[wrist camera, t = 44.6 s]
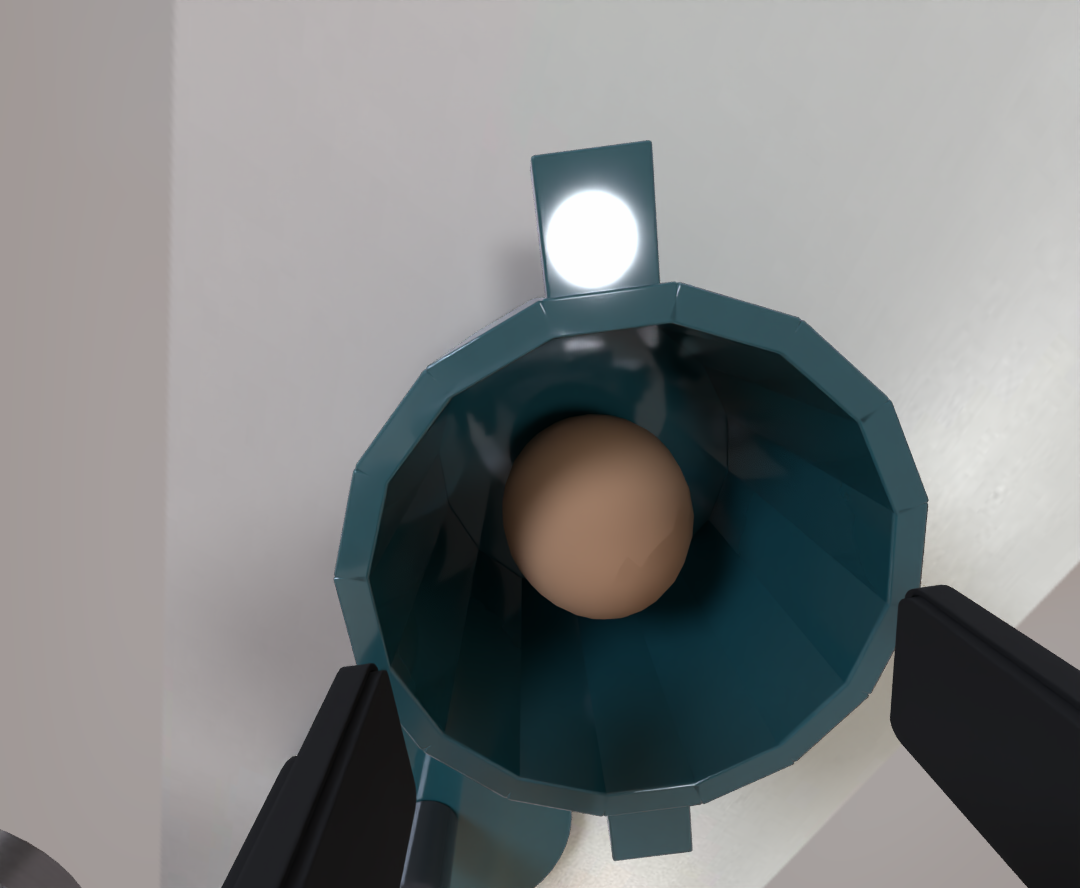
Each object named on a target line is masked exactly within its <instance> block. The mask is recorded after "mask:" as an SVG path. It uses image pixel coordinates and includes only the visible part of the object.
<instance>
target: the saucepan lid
mask: <svg viewBox="0 0 1080 888" xmlns="http://www.w3.org/2000/svg"><path fill="white" fill-rule="evenodd" d="M401 728H402V732H403V736H404V740H405V744H406V748H407V752H408V756H409V760H410V764H411V768H412V773H413V777H414V781H415V785H416V809H415V814H414V819H413V824H412V829H411V834H410V839H409V844H408V849H407V854H406V859H405V864H404V869H403V874H402V879H401V884H400V888H535V887H536V886H537V885H538V884H539V883H540V882H542V881H543V879H544V878H545V877H546V876H547V875H548V874H549V873H550V872H551V871H552V869H553V868H554V866H555V865H556V863H557V862H558V860H559V859H560V857H561V855H562V853H563V851H564V849H565V847H566V844H567V840H568V837H569V833H570V828H571V820H572V812H571V811H568V810H563V809H557V808H552V807H546V806H541V805H535V804H530V803H524V802H519V801H513V800H509V799H508V798H504V797H502V796H501V795H499V794H497V793H495V792H493V791H492V790H490V789H488V788H486V787H485V786H483V785H481V784H479V783H477V782H476V781H474V780H472V779H470V778H469V777H467V776H465V775H463V774H461V773H460V772H458V771H456V770H454V769H452V768H451V767H449V766H447V765H445V764H444V763H442V762H440V761H438V760H436V759H435V758H433V757H431V756H429V755H427V754H426V753H424V751H423V750H421V749H420V748H419V747H418V746H417V744H416V743H415V742H414V741H413V740H412V738H411V737H410V736H409V735H408V733H407V732H406V731H405V730H404V728H403V727H402V726H401Z"/></svg>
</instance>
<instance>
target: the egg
mask: <svg viewBox="0 0 1080 888" xmlns="http://www.w3.org/2000/svg"><path fill="white" fill-rule="evenodd" d="M693 520H694V513H693V507H692V501H691V496H690V490H689V487H688V485H687V483H686V480H685V478H684V476H683V473H682V471H681V469H680V467H679V465H678V464H677V462H676V461H675V459H674V457H673V456H672V454H671V453H670V451H669V449H668V448H667V447H666V446H665V445H664V444H663V443H662V442H661V441H660V440H659V439H658V438H657V437H656V436H654V435H653V434H652V433H650V432H649V431H648V430H646V429H644V428H642V427H640V426H638V425H636V424H634V423H632V422H630V421H628V420H626V419H623V418H619V417H616V416H612V415H600V414H586V415H580V416H575V417H569V418H566V419H563V420H560V421H558V422H556V423H554V424H552V425H551V426H549V427H547V428H546V429H544V430H542V431H541V432H539V433H538V434H537V435H536V436H535V437H534V438H532V439H531V440H530V441H529V442H528V443H527V444H526V446H525V447H524V449H523V450H522V451H521V453H520V454H519V455H518V457H517V458H516V460H515V461H514V463H513V466H512V469H511V471H510V474H509V477H508V479H507V482H506V485H505V490H504V496H503V527H504V531H505V535H506V538H507V542H508V546H509V549H510V553H511V556H512V557H513V559H514V561H515V563H516V564H517V566H518V568H519V570H520V571H521V573H522V574H523V575H524V576H525V578H526V579H527V580H528V581H529V583H530V584H531V585H532V586H533V587H534V588H535V589H536V590H537V591H538V592H539V593H540V594H541V595H543V596H544V597H545V598H547V599H548V600H549V601H551V602H552V603H553V604H555V605H556V606H558V607H560V608H562V609H564V610H567V611H569V612H571V613H573V614H575V615H578V616H582V617H587V618H591V619H616V618H624V617H626V616H629V615H632V614H634V613H637V612H640V611H642V610H644V609H645V608H647V607H648V606H650V605H651V604H653V603H654V602H656V601H657V600H658V599H659V598H660V597H661V596H662V595H663V593H664V592H665V591H666V590H667V589H668V588H669V587H670V586H671V585H672V584H673V583H674V582H675V580H676V578H677V576H678V574H679V572H680V570H681V568H682V566H683V564H684V562H685V559H686V556H687V552H688V549H689V546H690V542H691V539H692V535H693Z"/></svg>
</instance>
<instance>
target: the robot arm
mask: <svg viewBox="0 0 1080 888" xmlns="http://www.w3.org/2000/svg"><path fill="white" fill-rule="evenodd" d="M890 722H891V726H892V729H893V731H894V733H895V735H896V737H897V738H898V740H899V741H900V742H901V744H902V745H903V746H904V747H905V748H906V749H907V751H908V752H909V753H910V754H911V755H912V756H913V757H914V758H915V760H916V761H917V762H918V763H919V764H920V765H921V766H922V767H923V769H924V770H925V771H926V772H927V773H928V774H929V775H930V777H931V778H932V779H933V780H934V781H935V782H936V784H937V785H938V786H939V787H940V788H941V789H942V790H943V792H944V793H945V794H946V795H947V796H948V797H949V798H950V799H951V801H952V802H953V803H954V804H955V805H956V806H957V808H958V809H959V810H960V811H961V812H962V813H963V814H964V816H965V817H966V818H967V819H968V820H969V821H970V822H971V823H972V825H973V826H974V827H975V828H976V829H977V830H978V831H979V833H980V834H981V835H982V836H983V837H984V838H985V839H986V840H987V842H988V843H989V844H990V845H991V846H992V847H993V849H994V850H995V851H996V852H997V853H998V854H999V855H1000V856H1001V858H1002V859H1003V860H1004V861H1005V862H1006V863H1007V865H1008V866H1009V867H1010V868H1011V869H1012V870H1013V871H1014V873H1016V875H1018V877H1019V878H1020V879H1021V880H1022V882H1023V883H1024V884H1025V885H1026V886H1027V887H1028V888H1080V670H1078V669H1076V668H1075V667H1073V666H1072V665H1070V664H1069V663H1067V662H1066V661H1064V660H1063V659H1061V658H1060V657H1058V656H1056V655H1055V654H1053V653H1052V652H1050V651H1049V650H1047V649H1046V648H1044V647H1043V646H1041V645H1040V644H1038V643H1036V642H1035V641H1033V640H1032V639H1030V638H1029V637H1027V636H1026V635H1024V634H1022V633H1021V632H1020V631H1018V630H1016V629H1015V628H1013V627H1012V626H1010V625H1009V624H1007V623H1006V622H1004V621H1003V620H1001V619H1000V618H998V617H996V616H995V615H993V614H992V613H990V612H989V611H987V610H986V609H984V608H983V607H981V606H980V605H978V604H976V603H975V602H973V601H972V600H970V599H969V598H967V597H966V596H964V595H963V594H961V593H960V592H958V591H956V590H955V589H953V588H951V587H949V586H947V585H936V586H929V587H922V588H914V589H911V590H908V592H907V593H906V594H905V598H904V599H902V600H901V601H900V602H899V605H898V614H897V628H896V642H895V656H894V670H893V684H892V698H891V712H890ZM415 809H416V785H415V781H414V777H413V773H412V768H411V764H410V760H409V756H408V752H407V748H406V744H405V740H404V736H403V732H402V728H401V724H400V719H399V715H398V711H397V707H396V703H395V699H394V695H393V691H392V687H391V683H390V679H389V675H388V673H387V671H386V670H381V671H378V668H377V666H376V665H375V664H374V663H369V664H362V665H355V666H347V667H342V668H341V669H340V670H339V671H338V673H337V675H336V677H335V679H334V681H333V683H332V685H331V687H330V689H329V691H328V693H327V696H326V698H325V700H324V702H323V704H322V706H321V708H320V710H319V712H318V714H317V716H316V718H315V720H314V722H313V724H312V726H311V728H310V731H309V733H308V735H307V737H306V739H305V741H304V743H303V745H302V747H301V749H300V751H299V753H298V755H297V756H293V757H291V758H290V759H289V760H288V761H287V762H286V763H285V765H284V766H283V768H282V769H281V771H280V773H279V775H278V777H277V779H276V781H275V783H274V785H273V787H272V789H271V791H270V793H269V795H268V797H267V799H266V801H265V803H264V805H263V807H262V809H261V810H260V812H259V814H258V816H257V818H256V820H255V822H254V824H253V826H252V828H251V830H250V832H249V834H248V836H247V838H246V840H245V842H244V844H243V846H242V848H241V850H240V852H239V854H238V856H237V858H236V860H235V862H234V864H233V866H232V868H231V870H230V872H229V874H228V876H227V878H226V880H225V882H224V884H223V886H222V888H400V884H401V879H402V874H403V869H404V864H405V859H406V854H407V849H408V844H409V839H410V834H411V829H412V824H413V819H414V814H415Z"/></svg>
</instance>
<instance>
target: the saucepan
mask: <svg viewBox="0 0 1080 888" xmlns="http://www.w3.org/2000/svg"><path fill="white" fill-rule="evenodd" d="M530 172H531V181H532V189H533V197H534V206H535V214H536V223H537V231H538V240H539V248H540V257H541V265H542V274H543V282H544V291H545V297H539V298H534V299H531V300H529V301H527V302H526V303H524V304H522V305H521V306H519V307H517V308H516V309H514V310H512V311H511V312H509V313H507V314H506V315H504V316H502V317H501V318H499V319H497V320H495V321H494V322H492V323H490V324H489V325H487V326H485V327H484V328H482V329H480V330H479V331H477V332H475V333H474V334H472V335H471V336H469V337H468V338H467V339H465V340H464V341H462V342H461V343H460V344H458V345H457V346H455V347H454V348H452V349H451V350H450V351H448V352H447V353H445V354H444V355H443V356H441V357H440V358H438V359H437V360H436V361H434V362H433V363H431V364H430V365H428V366H427V368H426V369H425V370H423V372H422V373H421V374H420V376H419V377H418V379H417V380H416V381H415V383H414V384H413V386H412V387H411V388H410V390H409V391H408V393H407V394H406V395H405V397H404V398H403V400H402V401H401V402H400V404H399V405H398V407H397V408H396V409H395V411H394V412H393V414H392V415H391V416H390V418H389V419H388V421H387V422H386V423H385V425H384V426H383V427H382V429H381V430H380V432H379V433H378V434H377V436H376V437H375V439H374V440H373V441H372V443H371V444H370V446H369V447H368V448H367V450H366V451H365V453H364V454H363V455H362V457H361V458H360V460H359V461H358V462H357V464H356V468H355V469H354V471H353V474H352V480H351V485H350V491H349V496H348V501H347V507H346V512H345V518H344V523H343V528H342V534H341V539H340V545H339V550H338V555H337V561H336V566H335V572H334V575H335V577H334V583H335V586H336V590H337V594H338V598H339V601H340V605H341V609H342V612H343V616H344V620H345V623H346V627H347V631H348V635H349V638H350V642H351V646H352V649H353V653H354V657H355V661H356V664H357V665H362V664H369V663H374V664H375V665H376V666H377V668H378V671H381V670H386V671H387V673H388V675H389V679H390V683H391V687H392V691H393V695H394V699H395V703H396V707H397V711H398V715H399V719H400V724H401V726H402V727H403V728H404V730H405V731H406V732H407V733H408V735H409V736H410V737H411V738H412V740H413V741H414V742H415V743H416V744H417V746H418V747H419V748H420V749H421V750H423V751H424V753H426V754H427V755H429V756H431V757H433V758H435V759H436V760H438V761H440V762H442V763H444V764H445V765H447V766H449V767H451V768H452V769H454V770H456V771H458V772H460V773H461V774H463V775H465V776H467V777H469V778H470V779H472V780H474V781H476V782H477V783H479V784H481V785H483V786H485V787H486V788H488V789H490V790H492V791H493V792H495V793H497V794H499V795H501V796H502V797H504V798H508V799H509V800H513V801H519V802H524V803H530V804H535V805H541V806H546V807H552V808H557V809H563V810H568V811H574V812H579V813H585V814H590V815H596V816H603V815H604V816H607V824H608V832H609V838H610V845H611V851H612V857H613V860H614V861H619V860H627V859H635V858H644V857H652V856H660V855H668V854H676V853H684V852H691V851H692V832H691V814H690V806H694V805H700V804H705V803H708V802H710V801H712V800H714V799H717V798H719V797H721V796H723V795H726V794H728V793H730V792H732V791H735V790H737V789H739V788H741V787H744V786H746V785H748V784H750V783H752V782H755V781H757V780H759V779H761V778H764V777H766V776H768V775H770V774H773V773H775V772H777V771H779V770H782V769H784V768H786V767H788V766H791V765H793V764H794V762H795V761H797V760H799V759H800V758H801V757H802V756H803V755H804V754H805V753H806V752H807V751H809V750H810V749H811V748H812V747H813V746H814V745H815V744H816V743H818V742H819V741H820V740H821V739H822V738H823V737H824V736H825V735H826V734H828V733H829V732H830V731H831V730H832V729H833V728H834V727H835V726H836V725H838V724H839V723H840V722H841V721H842V720H843V719H844V718H845V717H847V716H848V715H849V714H850V713H851V712H852V711H853V710H854V709H855V708H857V707H858V706H859V705H860V704H861V703H862V702H863V701H864V700H866V699H867V698H868V696H869V695H868V694H870V693H872V691H873V689H874V687H875V685H876V684H877V682H878V680H879V678H880V676H881V674H882V672H883V671H884V669H885V667H886V665H887V663H888V661H889V659H890V658H891V656H892V654H893V652H894V650H895V642H896V628H897V614H898V605H899V602H900V601H901V600H902V599H904V598H905V594H906V593H907V592H908V590H911V589H914V588H920V587H921V576H922V565H923V555H924V544H925V533H926V523H927V512H928V503H927V502H928V497H927V494H926V492H925V489H924V486H923V484H922V481H921V478H920V476H919V473H918V470H917V468H916V465H915V462H914V460H913V457H912V454H911V452H910V449H909V446H908V444H907V441H906V438H905V436H904V433H903V430H902V428H901V425H900V422H899V420H898V417H897V414H896V412H895V409H894V406H893V404H892V401H891V400H889V398H888V397H887V396H886V395H885V394H884V393H883V392H882V391H881V390H880V389H879V388H878V387H876V386H875V385H874V384H873V383H872V382H871V381H870V380H869V379H868V378H867V377H866V376H864V375H863V374H862V373H861V372H860V371H859V370H858V369H857V368H856V367H855V366H853V365H852V364H851V363H850V362H849V361H848V360H847V359H846V358H845V357H844V356H843V355H841V354H840V353H839V352H838V351H837V350H836V349H835V348H834V347H833V346H832V345H830V344H829V343H828V342H827V341H826V340H825V339H824V338H823V337H822V336H821V335H819V334H818V333H817V332H816V331H815V330H814V329H813V328H812V327H811V326H810V325H809V324H807V323H806V322H805V321H803V320H801V319H800V318H799V317H796V316H792V315H789V314H786V313H782V312H779V311H776V310H772V309H769V308H765V307H762V306H759V305H755V304H752V303H749V302H745V301H742V300H738V299H735V298H732V297H728V296H725V295H722V294H718V293H715V292H712V291H708V290H705V289H701V288H698V287H695V286H691V285H688V284H685V283H681V282H678V283H676V282H665V283H660V273H659V255H658V238H657V220H656V203H655V185H654V168H653V150H652V142H651V141H649V140H646V141H638V142H631V143H623V144H616V145H608V146H601V147H593V148H586V149H578V150H570V151H563V152H555V153H548V154H540V155H534V156H532V157H531V166H530ZM586 414H600V415H612V416H616V417H619V418H623V419H626V420H628V421H630V422H632V423H634V424H636V425H638V426H640V427H642V428H644V429H646V430H648V431H649V432H650V433H652V434H653V435H654V436H656V437H657V438H658V439H659V440H660V441H661V442H662V443H663V444H664V445H665V446H666V447H667V448H668V449H669V451H670V453H671V454H672V456H673V457H674V459H675V461H676V462H677V464H678V465H679V467H680V469H681V471H682V473H683V476H684V478H685V480H686V483H687V485H688V487H689V490H690V496H691V501H692V507H693V513H694V520H693V535H692V539H691V542H690V546H689V549H688V552H687V556H686V559H685V562H684V564H683V566H682V568H681V570H680V572H679V574H678V576H677V578H676V580H675V582H674V583H673V584H672V585H671V586H670V587H669V588H668V589H667V590H666V591H665V592H664V593H663V595H662V596H661V597H660V598H659V599H658V600H657V601H656V602H654V603H653V604H651V605H650V606H648V607H647V608H645V609H644V610H642V611H640V612H637V613H634V614H632V615H629V616H626V617H624V618H616V619H591V618H587V617H582V616H578V615H575V614H573V613H571V612H569V611H567V610H564V609H562V608H560V607H558V606H556V605H555V604H553V603H552V602H551V601H549V600H548V599H547V598H545V597H544V596H543V595H541V594H540V593H539V592H538V591H537V590H536V589H535V588H534V587H533V586H532V585H531V584H530V583H529V581H528V580H527V579H526V578H525V576H524V575H523V574H522V573H521V571H520V570H519V568H518V566H517V564H516V563H515V561H514V559H513V557H512V556H511V553H510V549H509V546H508V542H507V538H506V535H505V531H504V527H503V496H504V490H505V485H506V482H507V479H508V477H509V474H510V471H511V469H512V466H513V463H514V461H515V460H516V458H517V457H518V455H519V454H520V453H521V451H522V450H523V449H524V447H525V446H526V444H527V443H528V442H529V441H530V440H531V439H532V438H534V437H535V436H536V435H537V434H538V433H539V432H541V431H542V430H544V429H546V428H547V427H549V426H551V425H552V424H554V423H556V422H558V421H560V420H563V419H566V418H569V417H575V416H580V415H586Z"/></svg>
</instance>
